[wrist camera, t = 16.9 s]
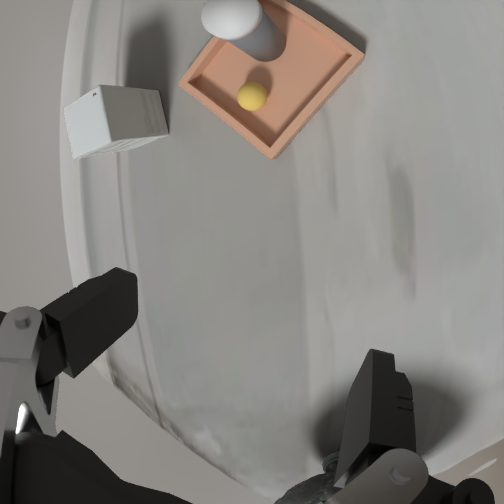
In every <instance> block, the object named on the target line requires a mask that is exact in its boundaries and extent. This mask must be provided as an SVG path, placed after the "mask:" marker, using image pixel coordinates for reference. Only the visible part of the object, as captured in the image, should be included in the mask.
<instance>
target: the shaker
mask: <svg viewBox="0 0 504 504" xmlns="http://www.w3.org/2000/svg"><path fill="white" fill-rule="evenodd" d="M201 19H202V23H203V25H204V27H205V29H206V30H207V31H208V32H210V33H211V34H213V35H215V36H216V37H218V38H220V39H222V40H226V41H228V42H230V43H231V44H233V45H234V46H236V47H237V48H239V49H240V50H242V51H243V52H245V53H246V54H248V55H249V56H251V57H252V58H254V59H255V60H258V61H261V62H270V61H273V60H275V59H277V58H279V57H280V56H281V55H282V54H283V52H284V50H285V47H286V39H285V37H284V35H283V34H282V32H281V31H280V30H279V29H278V27H277V26H276V25H275V24H274V22H273V21H272V20H271V19H270V18H269V16H268V15H267V14H266V13H265V12H264V11H263V9H262V7H261V5H260V3H259V2H258V0H207V2H206V3H205V5H204V7H203V10H202V14H201Z"/></svg>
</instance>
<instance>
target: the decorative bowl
mask: <svg viewBox="0 0 504 504" xmlns="http://www.w3.org/2000/svg"><path fill="white" fill-rule="evenodd" d="M339 453H340V451H336V452H333V453H331V454H329V455H328V456H327V457H326V458H325V460H324V462H323V464H322V465H323V471H324V472H325V473H324V474H319V475H316V476H314V477H311V478H309V479H308V480H306V481H303V482H301V483H299V484H297V485H295V486H294V487H292V488H291V489H289V490H288V491H287V492H286V493H285V495H284V496H283V497H282V498H279V499H278V500H277V501H276V502H275V503H274V504H317V503H319V502H321V501H326V500H327V499H329V498H330V497H332V496H333V495H334V494H336V493H337V492H338V491H340V490H341V489H342V488H340V487H335V486H333V485H334V480H335V475H336V469H337V464H338V459H339Z"/></svg>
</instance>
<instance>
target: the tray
mask: <svg viewBox="0 0 504 504" xmlns="http://www.w3.org/2000/svg"><path fill="white" fill-rule="evenodd" d="M258 2H259V3H260V5H261V7H262V9H263V11H264V12H265V13H266V14H267V15H268V16H269V18H270V19H271V20H272V21H273V22H274V24H275V25H276V26H277V27H278V29H279V30H280V31H281V32H282V34H283V35H284V37H285V39H286V47H285V50H284V52H283V54H282V55H281V56H280V57H279V58H277V59H275V60H273V61H270V62H261V61H258V60H255V59H254V58H252V57H251V56H249V55H248V54H246V53H245V52H243V51H242V50H240V49H239V48H237V47H236V46H234V45H233V44H231V43H230V42H228V41H226V40H222V39H220V38H218V37H216V36H215V35H214V36H213V37H212V39H211V40H210V41H209V43H208V44H207V45H206V46H205V48H204V49H203V50H202V52H201V53H200V54H199V56H198V57H197V58H196V60H195V61H194V62H193V64H192V65H191V66H190V68H189V69H188V71H187V72H186V73H185V75H184V76H183V78H182V79H181V81H180V82H179V83H178V85H179V86H180V87H182V88H183V89H184V90H186V91H187V92H188V93H190V94H191V95H192V96H194V97H195V98H196V99H197V100H199V101H200V102H201V103H203V104H204V105H205V106H206V107H208V108H209V109H210V110H211V111H213V112H214V113H215V114H216V115H218V116H219V117H220V118H221V119H223V120H224V121H225V122H226V123H228V124H229V125H230V126H231V127H232V128H234V129H235V130H236V131H237V132H239V133H240V134H241V135H242V136H243V137H245V138H246V139H247V140H248V141H249V142H250V143H252V144H253V145H254V146H255V147H256V148H258V149H259V150H260V151H261V152H262V153H263V154H265V155H266V156H267V157H268V158H269V159H270V160H273V159H276V158H277V157H278V156H279V155H280V154H281V153H282V152H283V150H284V149H285V148H286V147H287V146H288V145H289V143H290V142H291V141H292V140H293V139H294V138H295V136H296V135H297V134H298V133H299V132H300V131H301V130H302V128H303V127H304V126H305V125H306V124H307V123H308V122H309V120H310V119H311V118H312V117H313V116H314V115H315V114H316V113H317V111H318V110H319V109H320V108H321V107H322V106H323V105H324V104H325V102H326V101H327V100H328V99H329V98H330V97H331V96H332V95H333V94H334V92H335V91H336V90H337V89H338V88H339V87H340V86H341V85H342V84H343V83H344V81H345V80H346V79H347V78H348V77H349V76H350V75H351V74H352V73H353V72H354V71H355V69H356V68H357V67H358V66H359V65H360V64H361V63H362V62H363V61H364V56H365V54H363V53H362V52H361V51H359V50H358V49H357V48H356V47H354V46H353V45H352V44H350V43H349V42H348V41H346V40H345V39H344V38H342V37H341V36H339V35H338V34H337V33H335V32H334V31H332V30H331V29H330V28H328V27H327V26H325V25H324V24H322V23H321V22H319V21H318V20H316V19H315V18H313V17H312V16H310V15H309V14H307V13H305V12H304V11H302V10H301V9H299V8H297V7H296V6H294V5H292V4H291V3H289V2H287V1H286V0H258ZM248 82H256V83H259V84H261V85H262V86H263V87H264V88H265V89H266V91H267V101H266V103H265V105H264V106H263V107H262V108H260V109H258V110H255V111H249V110H246V109H244V108H243V107H241V106H240V104H239V103H238V100H237V92H238V90H239V88H240V87H241V86H242V85H244V84H245V83H248Z"/></svg>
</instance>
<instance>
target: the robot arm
mask: <svg viewBox="0 0 504 504" xmlns="http://www.w3.org/2000/svg"><path fill="white" fill-rule="evenodd" d="M137 316H138V286H137V276H136V275H135V274H134V273H131V272H129V271H126V270H123V269H121V268H118V267H116V268H113V269H111V270H110V271H108V272H107V273H105V274H103V275H102V276H98V277H95V278H92V279H88V280H87V281H85V282H83V283H82V284H80V285H78V287H77V288H76V287H75V288H74V289H72V290H70V292H69V293H68V292H67V293H66V294H64V295H62V296H61V297H59V298H58V299H56V300H55V301H53V302H51V303H50V304H48V305H47V306H45V307H44V308H42V309H41V310H38V309H36V308H33V307H27V306H26V307H18V308H16V309H13V310H11V311H10V312H8V313H5V312H2V311H0V504H192V503H190V502H188V501H185V500H183V499H181V498H179V497H176V496H174V495H172V494H170V493H166V492H162V491H158V490H154V489H150V488H146V487H142V486H138V485H135V484H132V483H128V482H125V481H123V480H121V479H120V478H119V477H118V476H117V475H116V474H115V473H114V472H113V471H112V470H111V469H110V468H109V467H108V466H107V465H106V464H105V463H103V462H102V460H101V459H100V458H99V457H98V456H97V455H96V454H95V453H94V452H93V451H92V450H90V449H89V448H87V447H86V446H84V445H83V444H81V443H80V442H78V441H77V440H75V439H74V438H72V437H71V436H70V435H68V434H67V433H66V432H64V431H63V430H62V431H61V432H60V433H59V434H58V435H57V432H56V425H55V419H56V407H57V398H58V389H59V376H58V374H60V373H61V372H62V371H63V372H65V373H66V374H68V375H69V376H71V377H72V378H75V377H76V376H77V375H78V374H80V373H81V372H82V371H83V370H84V369H85V368H86V367H87V366H88V365H89V364H91V363H92V362H93V361H94V360H95V359H96V358H97V357H98V356H100V355H101V354H102V353H103V352H104V351H105V350H106V349H107V348H108V347H110V346H111V345H112V344H113V343H114V342H115V341H116V340H117V339H119V338H120V337H121V336H122V335H123V334H124V333H125V332H126V331H128V330H129V329H130V328H131V327H132V326H133V325H134V323H135V321H136V319H137ZM412 400H413V396H412V386H411V384H410V383H409V381H408V379H407V377H406V375H405V374H404V373H400V372H396V371H395V359H394V354H391V353H387V352H383V351H379V350H375V349H370V350H369V351H368V353H367V355H366V358H365V360H364V362H363V364H362V366H361V368H360V370H359V372H358V374H357V376H356V378H355V380H354V382H353V385H352V387H351V390H350V393H349V396H348V401H347V407H346V415H345V422H344V428H343V435H342V441H341V447H340V453H339V459H338V464H337V469H336V475H335V480H334V485H333V486H335V487H340V488H342V489H341V490H340V491H338V492H337V493H336V494H334V495H333V496H332V497H330V498H329V499H327V500H326V501H321V502H319V503H317V504H495V501H494V495H493V492H492V490H491V489H490V487H489V486H488V485H487V484H486V483H485V482H484V481H482V480H480V479H476V478H469V479H465V480H463V481H462V482H460V483H459V484H458V485H457V486H453V485H450V484H448V483H445V482H443V481H440V480H438V479H436V478H434V477H432V476H430V475H429V473H428V468H427V465H426V464H425V462H424V460H423V459H422V458H421V457H420V456H419V455H417V454H416V439H415V421H414V413H413V410H414V408H413V402H412Z"/></svg>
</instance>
